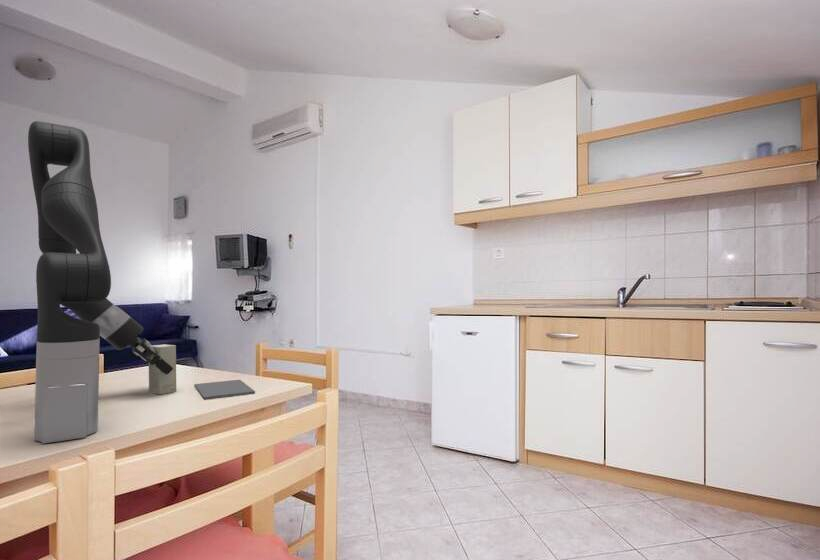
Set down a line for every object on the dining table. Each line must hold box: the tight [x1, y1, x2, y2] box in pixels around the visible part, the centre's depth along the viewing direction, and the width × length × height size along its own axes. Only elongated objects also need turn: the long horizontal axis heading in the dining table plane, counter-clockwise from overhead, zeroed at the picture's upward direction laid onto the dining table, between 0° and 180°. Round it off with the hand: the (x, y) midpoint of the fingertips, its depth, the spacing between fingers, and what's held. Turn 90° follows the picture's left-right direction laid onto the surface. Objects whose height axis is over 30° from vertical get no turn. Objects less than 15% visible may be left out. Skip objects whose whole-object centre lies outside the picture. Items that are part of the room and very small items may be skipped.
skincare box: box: [148, 343, 177, 395], centre depth 115 cm, size 6×4×12 cm
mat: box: [193, 379, 256, 401], centre depth 118 cm, size 18×12×1 cm, turn 33°
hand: (168, 369), depth 116 cm, fingers closed on skincare box, 7 cm apart
